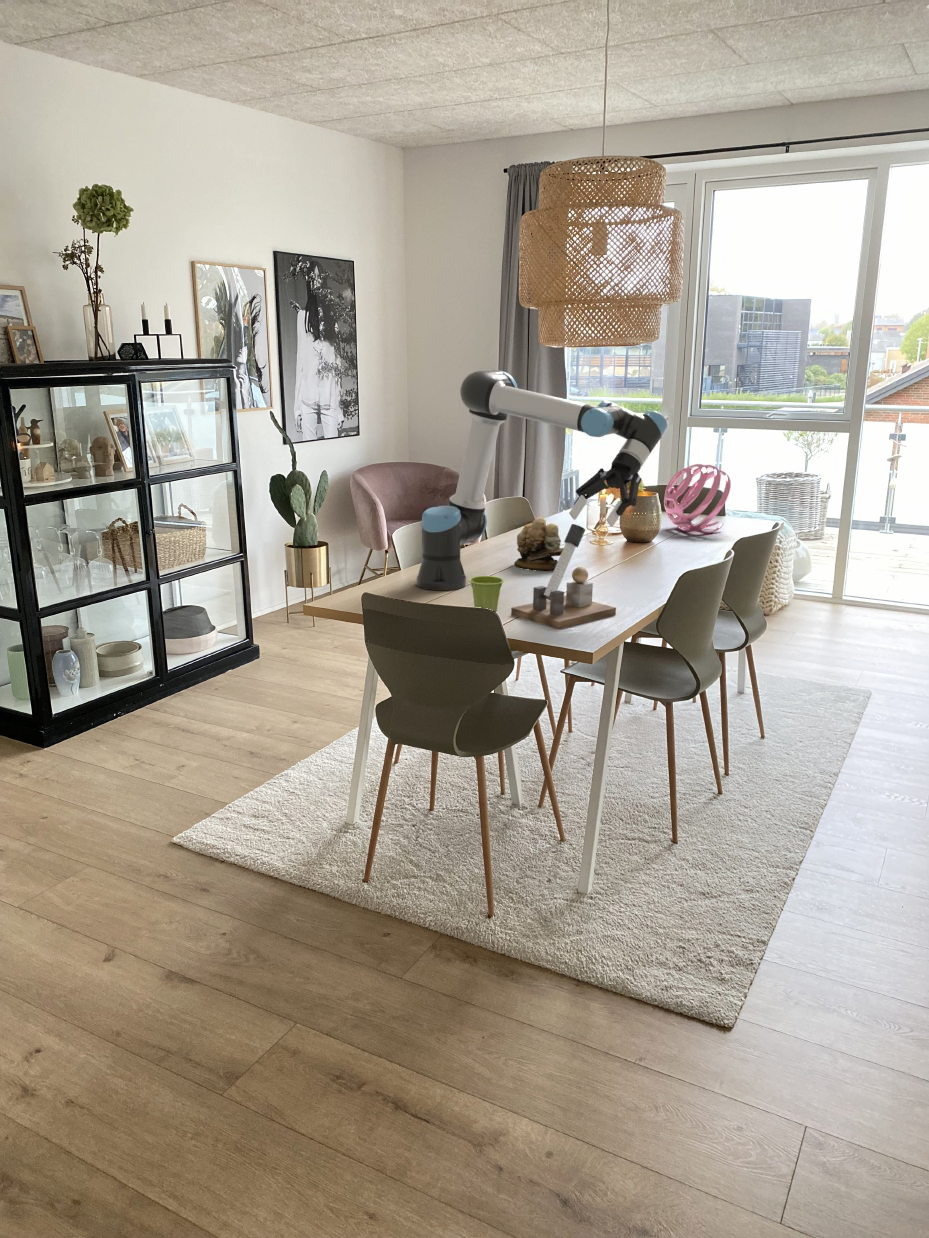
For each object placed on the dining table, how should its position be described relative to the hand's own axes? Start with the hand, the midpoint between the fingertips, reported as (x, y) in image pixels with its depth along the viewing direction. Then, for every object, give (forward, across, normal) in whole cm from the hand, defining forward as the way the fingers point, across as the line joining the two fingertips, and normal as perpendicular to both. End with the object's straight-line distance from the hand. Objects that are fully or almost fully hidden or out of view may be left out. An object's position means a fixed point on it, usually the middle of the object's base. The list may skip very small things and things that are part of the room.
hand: (590, 520), depth 255 cm
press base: (+24, 0, -12) cm, 27 cm away
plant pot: (+33, +17, -2) cm, 38 cm away
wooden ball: (+14, 0, -10) cm, 17 cm away
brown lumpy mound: (-2, +48, -38) cm, 61 cm away
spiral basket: (-68, +56, -104) cm, 137 cm away
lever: (+24, 0, -3) cm, 24 cm away
